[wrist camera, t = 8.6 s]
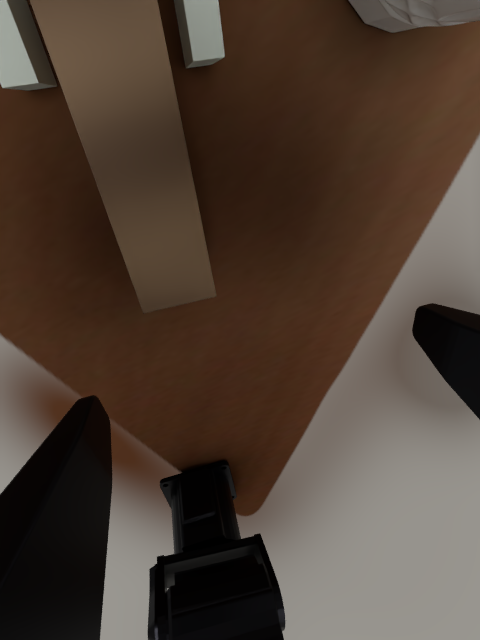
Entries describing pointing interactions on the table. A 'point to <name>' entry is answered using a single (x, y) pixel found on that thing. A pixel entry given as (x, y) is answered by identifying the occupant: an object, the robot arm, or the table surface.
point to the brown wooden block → (132, 140)
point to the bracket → (32, 63)
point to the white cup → (416, 13)
